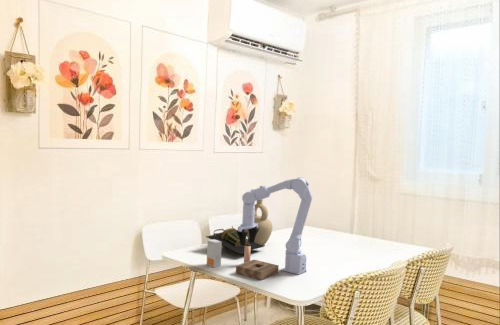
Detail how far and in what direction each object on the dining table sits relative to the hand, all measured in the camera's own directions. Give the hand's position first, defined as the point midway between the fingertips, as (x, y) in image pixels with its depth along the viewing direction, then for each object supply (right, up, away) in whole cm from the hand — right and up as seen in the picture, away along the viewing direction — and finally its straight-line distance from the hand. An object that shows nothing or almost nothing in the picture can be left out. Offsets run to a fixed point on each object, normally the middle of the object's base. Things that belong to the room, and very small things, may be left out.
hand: (247, 243), depth 193 cm
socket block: (+5, -11, -12) cm, 17 cm away
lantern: (-9, -9, +27) cm, 30 cm away
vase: (+6, -9, +43) cm, 44 cm away
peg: (0, -10, +1) cm, 10 cm away
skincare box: (-16, -10, -3) cm, 19 cm away
